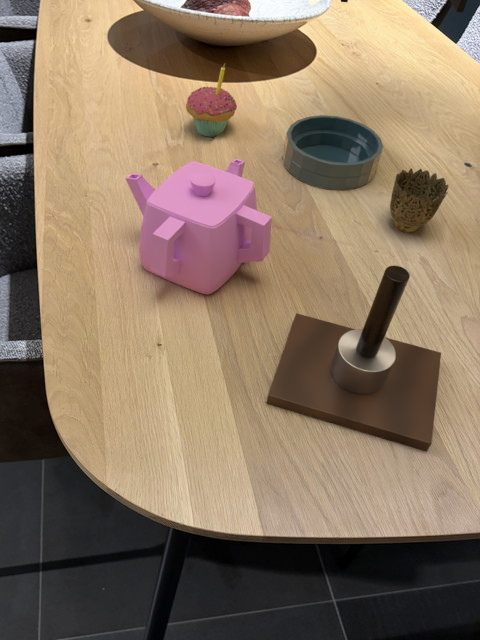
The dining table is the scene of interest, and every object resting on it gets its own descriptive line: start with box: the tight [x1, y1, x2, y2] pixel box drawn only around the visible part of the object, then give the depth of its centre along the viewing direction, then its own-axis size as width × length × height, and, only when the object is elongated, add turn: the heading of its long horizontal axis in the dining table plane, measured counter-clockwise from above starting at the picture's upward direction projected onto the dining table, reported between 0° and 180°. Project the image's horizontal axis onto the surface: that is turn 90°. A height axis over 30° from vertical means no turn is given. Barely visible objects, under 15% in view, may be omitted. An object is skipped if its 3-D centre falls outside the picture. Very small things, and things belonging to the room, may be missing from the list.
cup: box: [389, 168, 449, 234], centre depth 88 cm, size 8×7×8 cm
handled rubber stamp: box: [330, 265, 411, 394], centre depth 64 cm, size 6×6×15 cm
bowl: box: [282, 114, 384, 191], centre depth 99 cm, size 15×15×5 cm
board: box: [266, 312, 442, 452], centre depth 70 cm, size 18×14×2 cm
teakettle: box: [125, 158, 273, 296], centre depth 79 cm, size 17×17×12 cm
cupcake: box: [185, 63, 238, 138], centre depth 102 cm, size 9×8×12 cm
